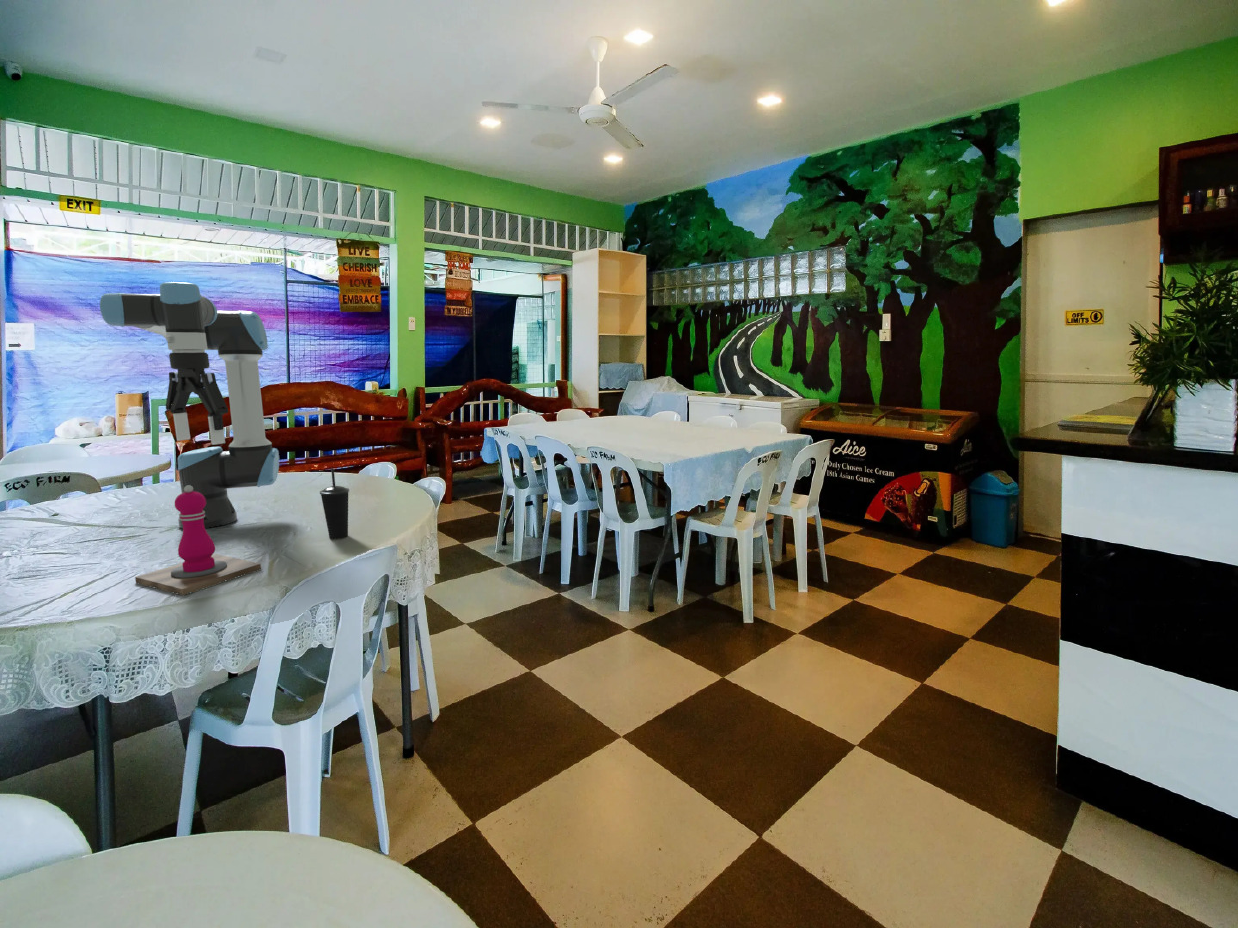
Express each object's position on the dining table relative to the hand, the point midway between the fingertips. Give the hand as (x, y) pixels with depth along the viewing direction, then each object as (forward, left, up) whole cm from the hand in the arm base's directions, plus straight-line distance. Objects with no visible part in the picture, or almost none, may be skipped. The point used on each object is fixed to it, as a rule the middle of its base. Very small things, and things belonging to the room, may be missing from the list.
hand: (200, 441), depth 147 cm
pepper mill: (+4, -6, -29) cm, 30 cm away
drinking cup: (+8, +30, -31) cm, 44 cm away
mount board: (+4, -6, -31) cm, 32 cm away
